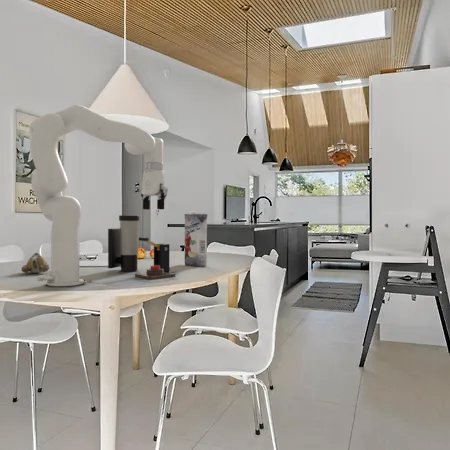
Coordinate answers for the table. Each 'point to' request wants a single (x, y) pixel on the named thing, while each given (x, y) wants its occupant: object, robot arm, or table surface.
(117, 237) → the light fixture
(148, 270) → the button block
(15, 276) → the table surface
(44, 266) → the ceramic sculpture
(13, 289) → the table surface
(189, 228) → the juice carton
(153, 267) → the button
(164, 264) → the switch bracket
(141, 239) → the switch lever
